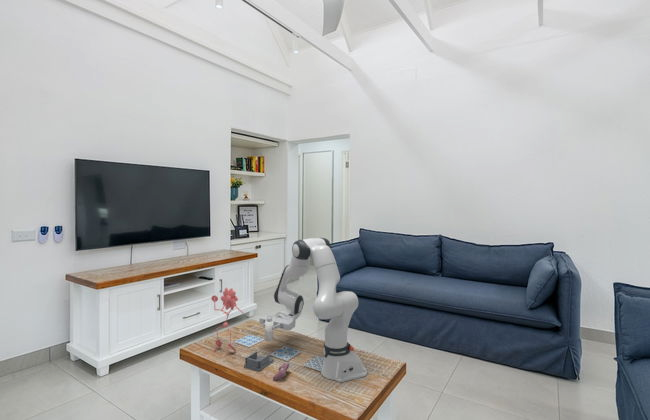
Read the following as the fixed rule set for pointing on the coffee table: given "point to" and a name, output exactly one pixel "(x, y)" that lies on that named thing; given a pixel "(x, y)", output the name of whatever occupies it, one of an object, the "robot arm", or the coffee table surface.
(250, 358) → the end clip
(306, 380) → the coffee table surface
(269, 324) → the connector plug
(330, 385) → the coffee table surface
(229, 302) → the pink flower
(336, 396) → the coffee table surface
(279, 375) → the pink irregular piece
